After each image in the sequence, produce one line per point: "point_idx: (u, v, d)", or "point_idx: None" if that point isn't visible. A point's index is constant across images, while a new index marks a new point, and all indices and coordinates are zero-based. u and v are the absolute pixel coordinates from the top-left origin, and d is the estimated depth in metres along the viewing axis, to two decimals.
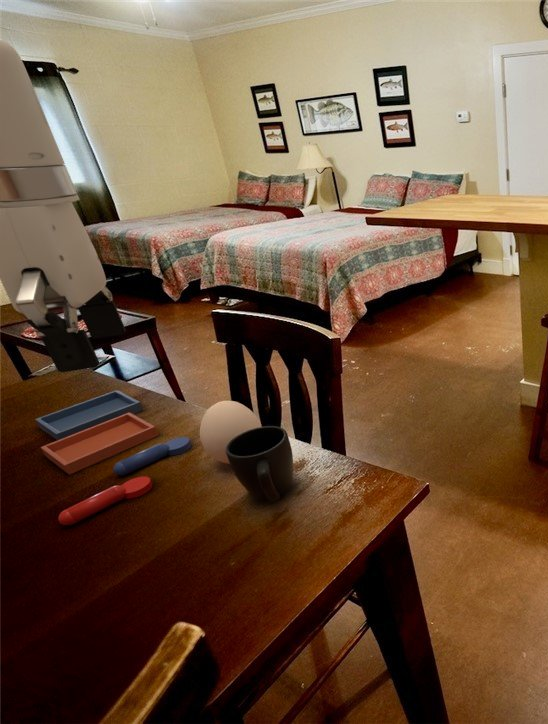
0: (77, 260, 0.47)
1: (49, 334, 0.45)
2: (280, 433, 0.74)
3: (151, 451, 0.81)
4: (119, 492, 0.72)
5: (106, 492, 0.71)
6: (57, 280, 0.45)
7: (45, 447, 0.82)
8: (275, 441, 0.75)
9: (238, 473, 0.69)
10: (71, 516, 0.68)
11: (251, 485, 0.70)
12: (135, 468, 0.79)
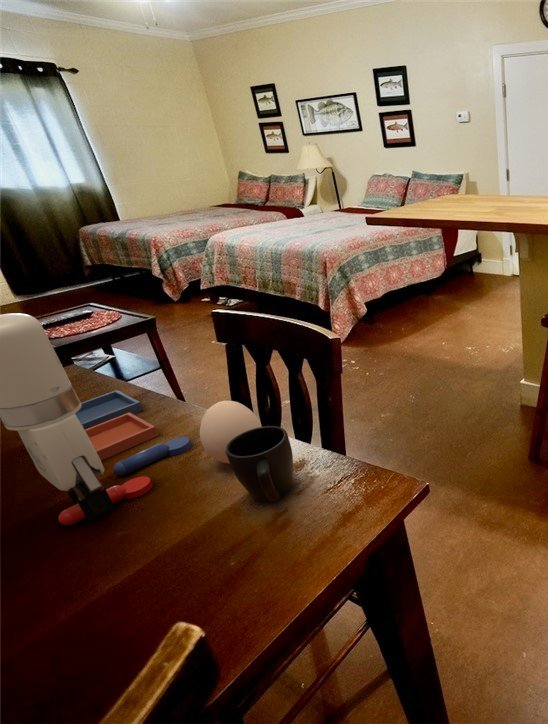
0: None
1: (89, 496, 0.68)
2: (280, 433, 0.74)
3: (151, 451, 0.81)
4: (119, 492, 0.72)
5: None
6: (94, 459, 0.65)
7: None
8: (275, 441, 0.75)
9: (238, 473, 0.69)
10: (71, 516, 0.68)
11: (251, 485, 0.70)
12: (135, 468, 0.79)
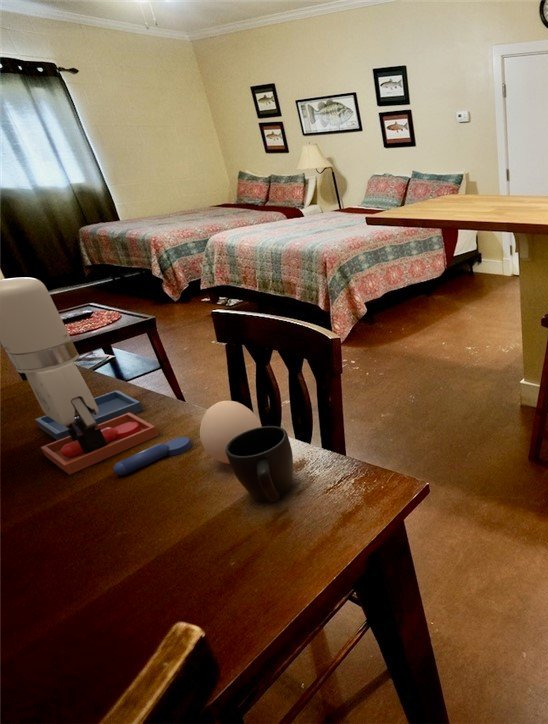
0: None
1: (86, 433, 0.81)
2: (280, 433, 0.74)
3: (151, 451, 0.81)
4: (111, 432, 0.86)
5: None
6: (90, 400, 0.79)
7: (45, 447, 0.82)
8: (275, 441, 0.75)
9: (238, 473, 0.69)
10: (71, 449, 0.81)
11: (251, 485, 0.70)
12: (135, 468, 0.79)
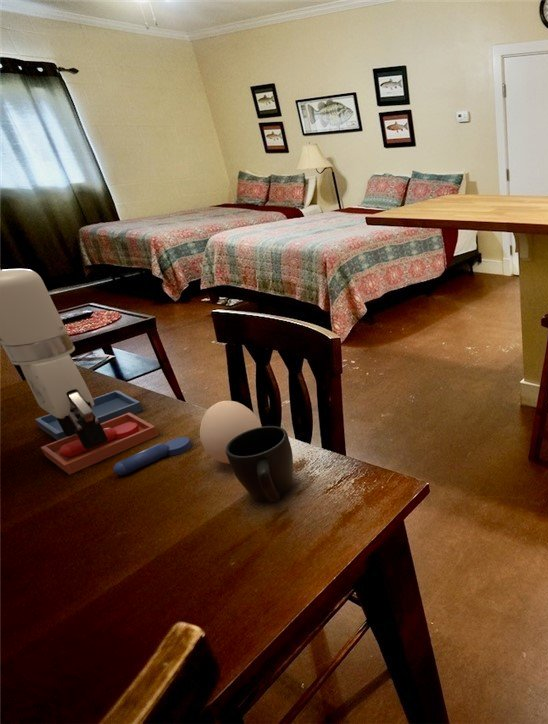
0: None
1: (86, 427, 0.79)
2: (280, 433, 0.74)
3: (151, 451, 0.81)
4: (110, 433, 0.86)
5: None
6: (85, 393, 0.78)
7: (45, 447, 0.82)
8: (275, 441, 0.75)
9: (238, 473, 0.69)
10: (70, 449, 0.81)
11: (251, 485, 0.70)
12: (135, 468, 0.79)
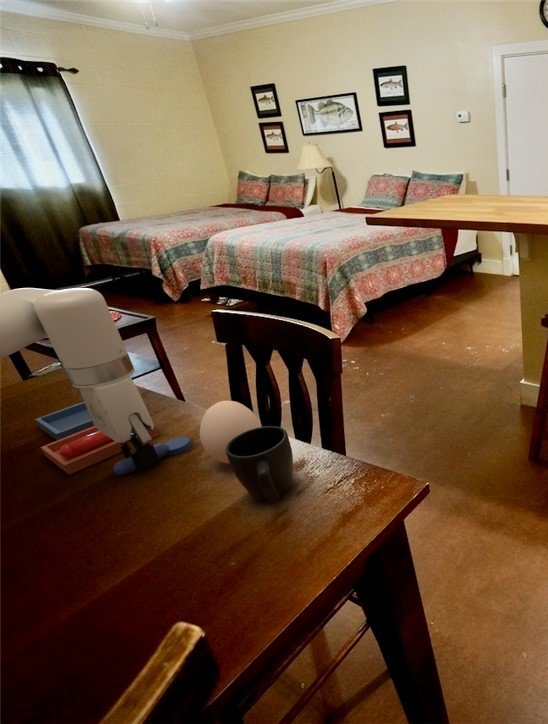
0: None
1: (140, 450, 0.78)
2: (280, 433, 0.74)
3: None
4: None
5: (99, 432, 0.85)
6: (146, 416, 0.75)
7: (45, 447, 0.82)
8: (275, 441, 0.75)
9: (238, 473, 0.69)
10: (70, 449, 0.81)
11: (251, 485, 0.70)
12: (135, 468, 0.79)
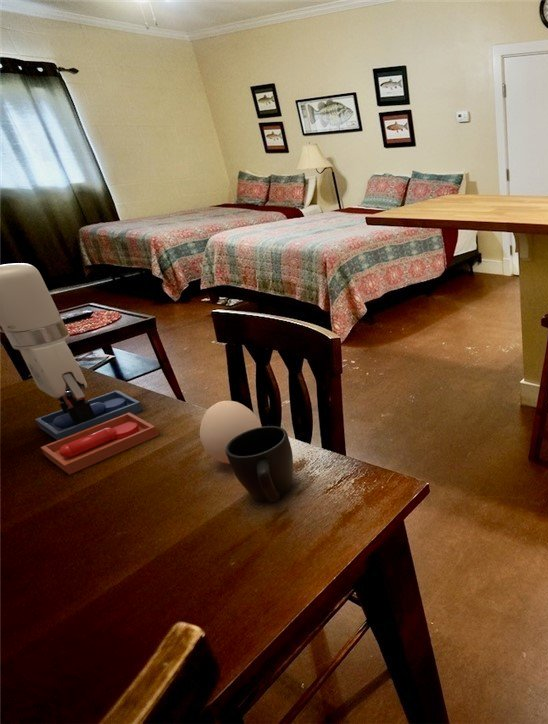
0: None
1: (76, 405, 0.89)
2: (280, 433, 0.74)
3: None
4: (110, 433, 0.86)
5: (99, 432, 0.85)
6: (79, 376, 0.87)
7: (45, 447, 0.82)
8: (275, 441, 0.75)
9: (238, 473, 0.69)
10: (70, 449, 0.81)
11: (251, 485, 0.70)
12: (73, 422, 0.91)
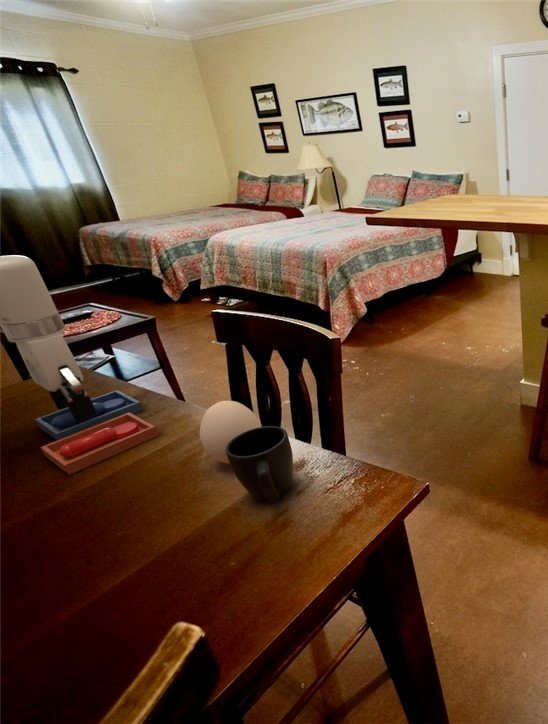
0: None
1: (76, 399, 0.87)
2: (280, 433, 0.74)
3: None
4: (110, 433, 0.86)
5: (99, 432, 0.85)
6: (75, 369, 0.87)
7: (45, 447, 0.82)
8: (275, 441, 0.75)
9: (238, 473, 0.69)
10: (70, 449, 0.81)
11: (251, 485, 0.70)
12: (72, 422, 0.91)
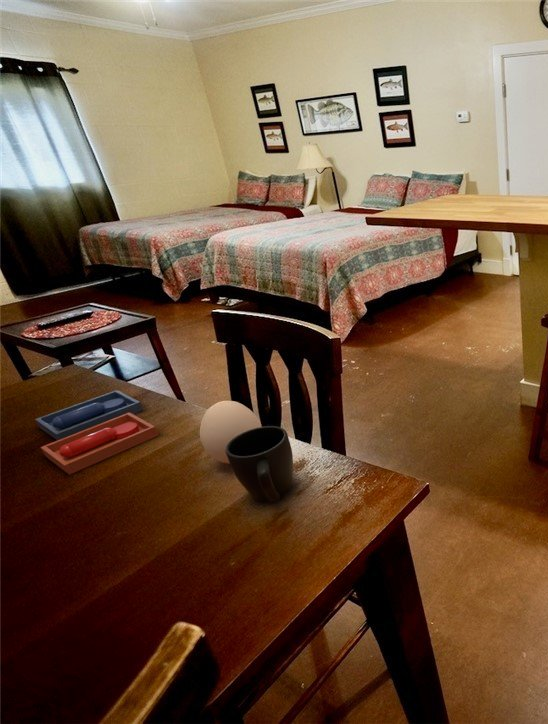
0: None
1: None
2: (280, 433, 0.74)
3: (87, 409, 0.93)
4: (110, 433, 0.86)
5: (99, 432, 0.85)
6: None
7: (45, 447, 0.82)
8: (275, 441, 0.75)
9: (238, 473, 0.69)
10: (70, 449, 0.81)
11: (251, 485, 0.70)
12: (72, 422, 0.91)
